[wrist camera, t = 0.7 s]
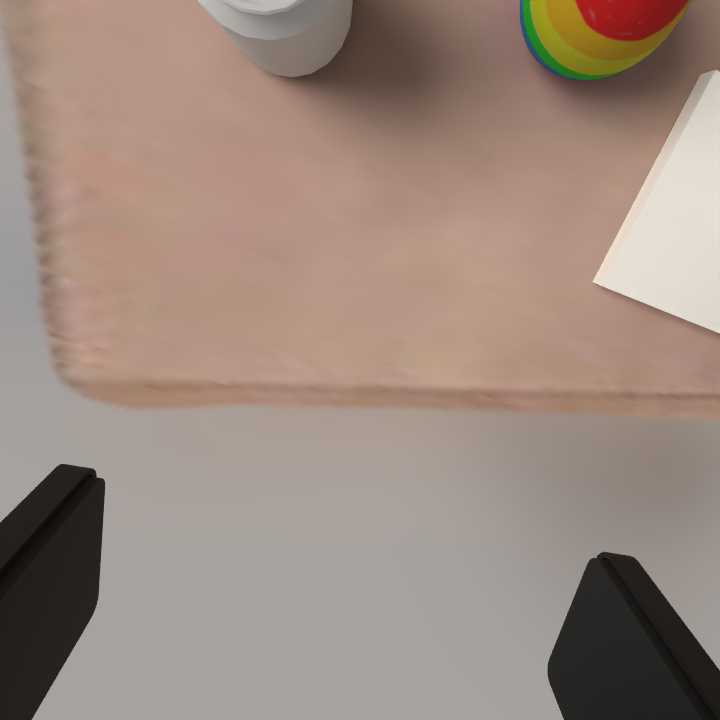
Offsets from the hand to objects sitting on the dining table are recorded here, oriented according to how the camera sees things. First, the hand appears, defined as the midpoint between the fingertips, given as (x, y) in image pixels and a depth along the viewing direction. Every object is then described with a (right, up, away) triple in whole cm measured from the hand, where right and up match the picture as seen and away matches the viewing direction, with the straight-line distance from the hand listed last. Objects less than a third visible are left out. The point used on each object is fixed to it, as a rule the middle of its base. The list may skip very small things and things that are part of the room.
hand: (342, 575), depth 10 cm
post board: (+26, +13, +27) cm, 39 cm away
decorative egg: (+13, +25, +23) cm, 36 cm away
